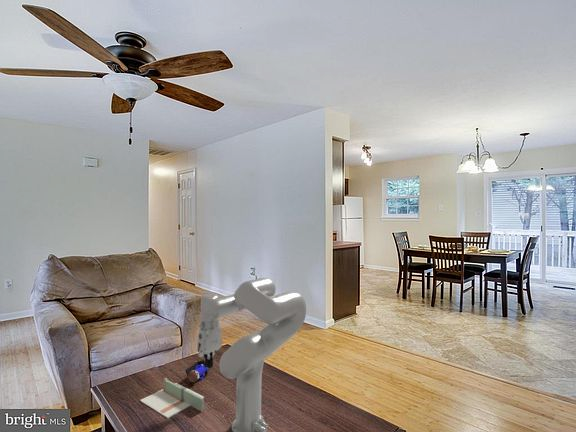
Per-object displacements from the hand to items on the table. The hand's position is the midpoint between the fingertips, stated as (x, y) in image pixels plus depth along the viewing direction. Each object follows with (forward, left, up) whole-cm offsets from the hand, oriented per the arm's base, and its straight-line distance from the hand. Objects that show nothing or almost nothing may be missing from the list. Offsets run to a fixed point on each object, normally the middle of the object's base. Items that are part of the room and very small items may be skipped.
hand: (208, 366), depth 139 cm
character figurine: (+20, -11, -16) cm, 28 cm away
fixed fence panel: (+17, +6, -16) cm, 24 cm away
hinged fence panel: (+4, +6, -15) cm, 16 cm away
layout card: (+15, +8, -16) cm, 23 cm away
